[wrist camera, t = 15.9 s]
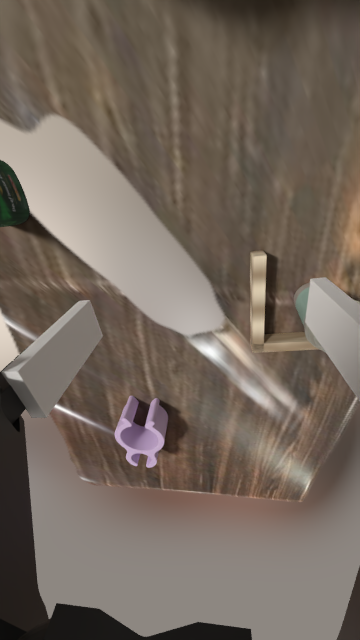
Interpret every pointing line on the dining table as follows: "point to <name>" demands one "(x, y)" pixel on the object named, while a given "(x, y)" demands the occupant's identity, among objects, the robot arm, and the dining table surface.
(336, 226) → the dining table surface
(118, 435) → the clip
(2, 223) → the coffee jar
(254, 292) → the u rest
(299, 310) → the coffee cup
